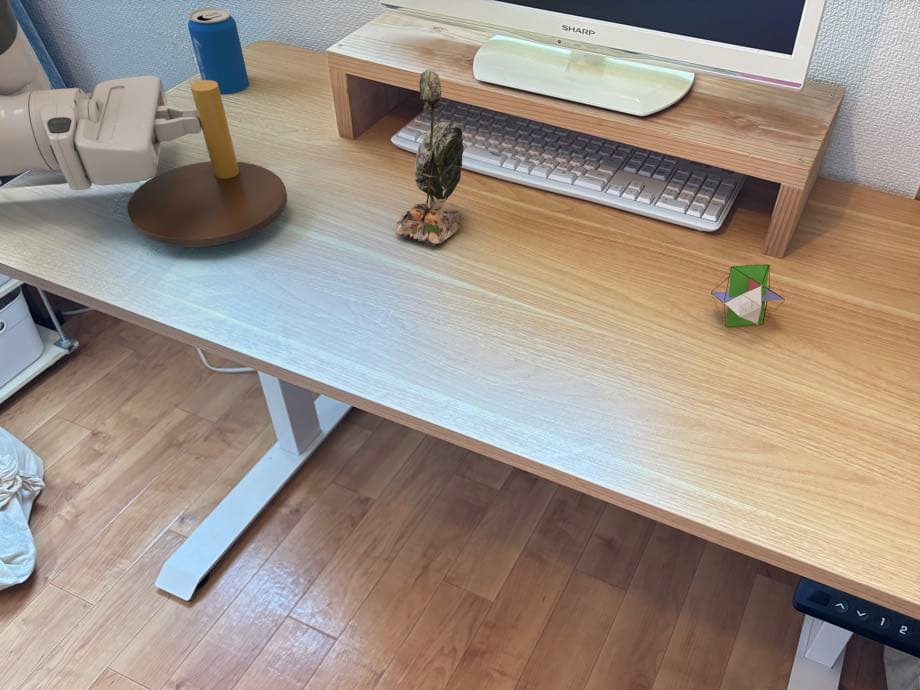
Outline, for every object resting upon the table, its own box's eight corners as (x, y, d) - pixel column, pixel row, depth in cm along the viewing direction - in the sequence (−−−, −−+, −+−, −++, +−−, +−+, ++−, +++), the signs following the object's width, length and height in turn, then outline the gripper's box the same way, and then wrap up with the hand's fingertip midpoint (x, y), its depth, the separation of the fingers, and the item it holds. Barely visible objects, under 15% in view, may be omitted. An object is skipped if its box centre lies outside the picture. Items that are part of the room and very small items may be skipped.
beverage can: (198, 97, 120) (176, 13, 111) (236, 85, 123) (217, 3, 115) (222, 111, 117) (201, 26, 108) (260, 98, 120) (242, 15, 112)
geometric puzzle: (700, 276, 88) (725, 252, 80) (759, 273, 89) (789, 249, 81) (708, 339, 87) (733, 321, 80) (767, 335, 88) (798, 317, 80)
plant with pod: (486, 213, 100) (485, 51, 86) (432, 256, 93) (421, 86, 79) (434, 194, 103) (425, 34, 88) (378, 233, 96) (358, 66, 81)
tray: (101, 239, 89) (60, 139, 81) (169, 162, 102) (139, 68, 94) (257, 253, 89) (232, 153, 80) (306, 174, 101) (289, 80, 93)
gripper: (95, 115, 101) (209, 108, 103) (71, 199, 87) (204, 187, 90) (76, 65, 96) (197, 59, 99) (48, 145, 82) (189, 134, 85)
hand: (200, 120), depth 94 cm, fingers closed, pressing on tray
